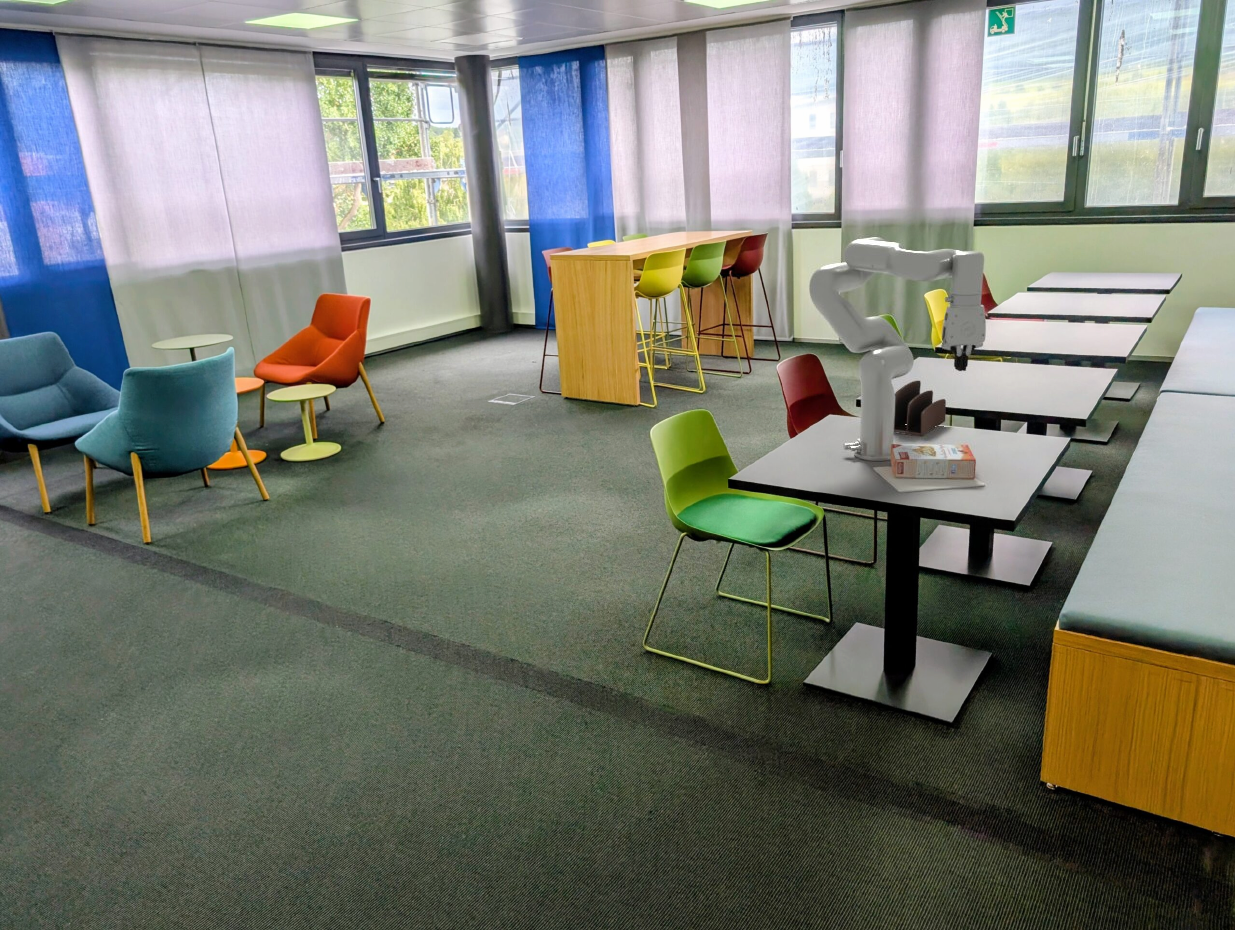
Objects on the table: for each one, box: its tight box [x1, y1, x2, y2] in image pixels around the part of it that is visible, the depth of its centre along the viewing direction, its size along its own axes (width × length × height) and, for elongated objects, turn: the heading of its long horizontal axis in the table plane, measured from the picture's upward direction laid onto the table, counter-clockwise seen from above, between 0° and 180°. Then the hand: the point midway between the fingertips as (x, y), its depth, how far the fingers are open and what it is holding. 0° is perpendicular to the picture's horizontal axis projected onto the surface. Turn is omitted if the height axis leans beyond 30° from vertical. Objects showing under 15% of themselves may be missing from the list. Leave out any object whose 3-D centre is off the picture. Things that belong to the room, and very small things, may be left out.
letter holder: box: [894, 380, 947, 437], centre depth 292 cm, size 10×20×14 cm, turn 140°
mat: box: [873, 465, 986, 493], centre depth 249 cm, size 23×20×1 cm
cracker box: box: [890, 443, 977, 479], centre depth 251 cm, size 14×6×21 cm
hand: (960, 369), depth 241 cm, fingers closed
